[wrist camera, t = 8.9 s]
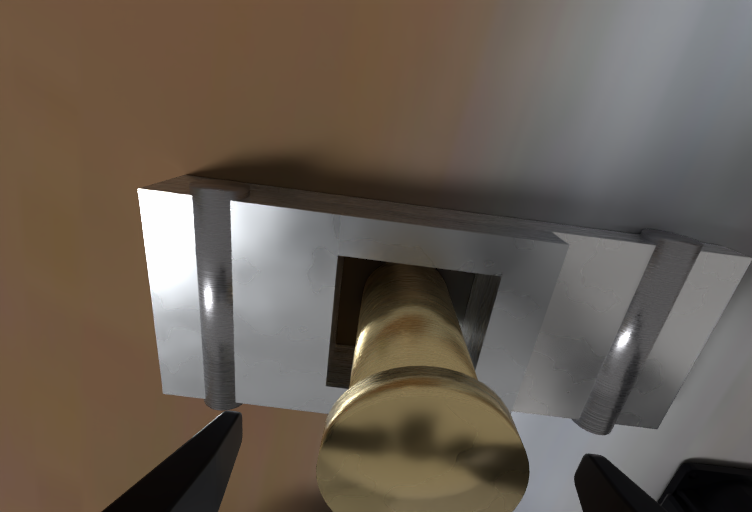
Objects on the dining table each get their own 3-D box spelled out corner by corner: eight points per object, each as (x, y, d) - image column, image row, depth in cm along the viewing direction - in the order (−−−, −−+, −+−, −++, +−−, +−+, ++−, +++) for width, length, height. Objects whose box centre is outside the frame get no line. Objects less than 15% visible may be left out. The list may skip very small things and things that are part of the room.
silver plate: (723, 238, 15) (806, 269, 12) (635, 410, 19) (682, 466, 16) (184, 167, 15) (131, 181, 12) (197, 356, 18) (160, 403, 15)
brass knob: (469, 255, 16) (558, 412, 8) (446, 348, 18) (498, 555, 9) (357, 241, 16) (323, 383, 8) (347, 335, 18) (310, 534, 9)
